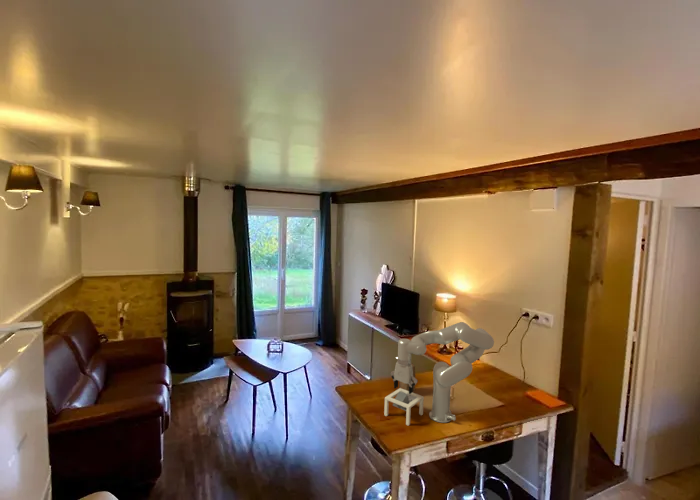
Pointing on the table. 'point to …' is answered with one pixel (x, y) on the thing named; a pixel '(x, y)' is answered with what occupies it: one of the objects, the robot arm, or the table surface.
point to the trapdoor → (408, 403)
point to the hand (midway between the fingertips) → (403, 390)
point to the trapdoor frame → (408, 406)
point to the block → (406, 386)
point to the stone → (402, 398)
